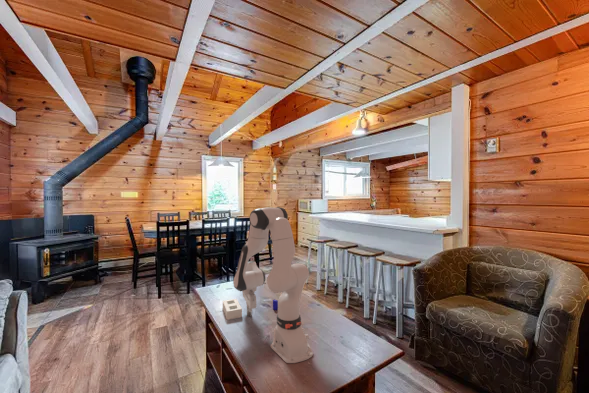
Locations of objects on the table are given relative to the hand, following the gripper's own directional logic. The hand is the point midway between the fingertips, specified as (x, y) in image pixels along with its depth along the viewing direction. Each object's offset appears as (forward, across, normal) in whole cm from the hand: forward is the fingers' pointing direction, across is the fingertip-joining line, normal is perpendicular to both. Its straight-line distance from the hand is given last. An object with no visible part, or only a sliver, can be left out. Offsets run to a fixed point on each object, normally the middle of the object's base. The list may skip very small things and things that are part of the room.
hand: (249, 309), depth 157 cm
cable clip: (+4, +5, -22) cm, 23 cm away
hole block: (+4, +8, +9) cm, 13 cm away
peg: (+4, 0, 0) cm, 4 cm away
